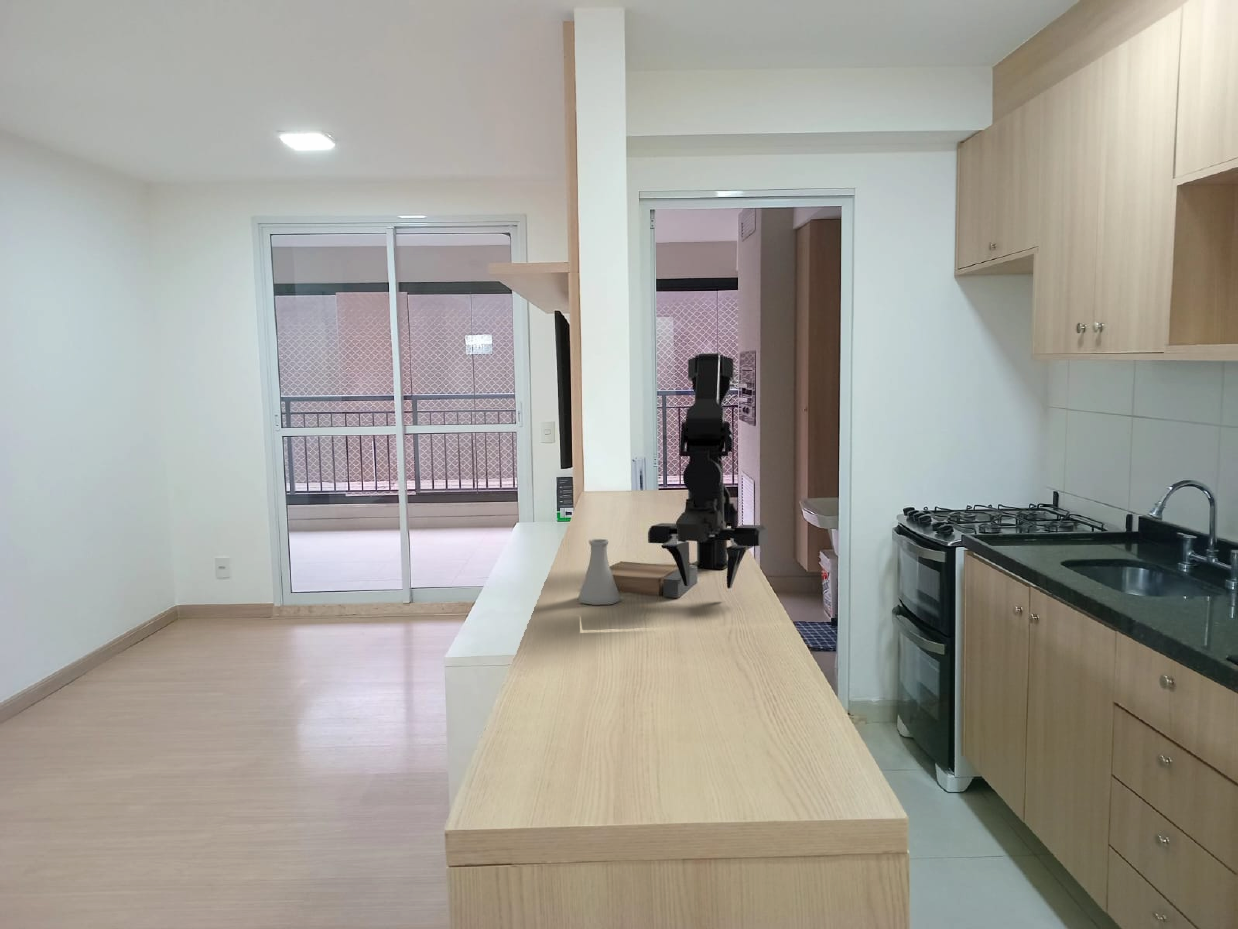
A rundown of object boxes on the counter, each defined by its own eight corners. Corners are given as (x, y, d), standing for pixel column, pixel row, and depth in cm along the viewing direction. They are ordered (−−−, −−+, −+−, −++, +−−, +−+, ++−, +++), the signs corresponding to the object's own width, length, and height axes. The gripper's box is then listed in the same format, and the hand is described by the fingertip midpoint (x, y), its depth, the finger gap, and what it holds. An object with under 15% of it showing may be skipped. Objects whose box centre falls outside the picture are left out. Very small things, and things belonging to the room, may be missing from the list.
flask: (616, 607, 136) (616, 545, 135) (572, 605, 137) (571, 543, 136) (625, 596, 143) (624, 537, 142) (583, 595, 144) (582, 536, 143)
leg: (685, 581, 152) (685, 564, 152) (699, 582, 151) (698, 565, 151) (663, 597, 141) (663, 579, 141) (678, 598, 140) (677, 580, 140)
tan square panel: (621, 577, 157) (621, 561, 157) (682, 583, 152) (682, 566, 151) (594, 590, 147) (593, 573, 147) (658, 596, 142) (658, 579, 142)
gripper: (633, 495, 136) (635, 592, 136) (747, 495, 128) (750, 599, 129) (659, 490, 146) (661, 581, 147) (766, 490, 138) (768, 586, 139)
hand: (707, 587), depth 140 cm, fingers open, 7 cm apart
